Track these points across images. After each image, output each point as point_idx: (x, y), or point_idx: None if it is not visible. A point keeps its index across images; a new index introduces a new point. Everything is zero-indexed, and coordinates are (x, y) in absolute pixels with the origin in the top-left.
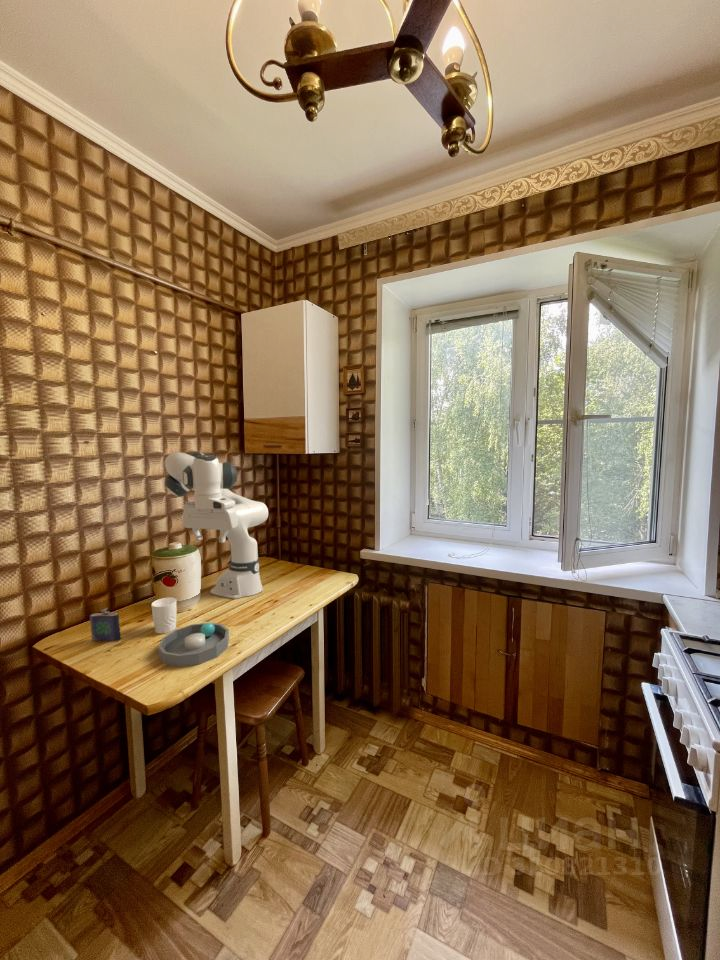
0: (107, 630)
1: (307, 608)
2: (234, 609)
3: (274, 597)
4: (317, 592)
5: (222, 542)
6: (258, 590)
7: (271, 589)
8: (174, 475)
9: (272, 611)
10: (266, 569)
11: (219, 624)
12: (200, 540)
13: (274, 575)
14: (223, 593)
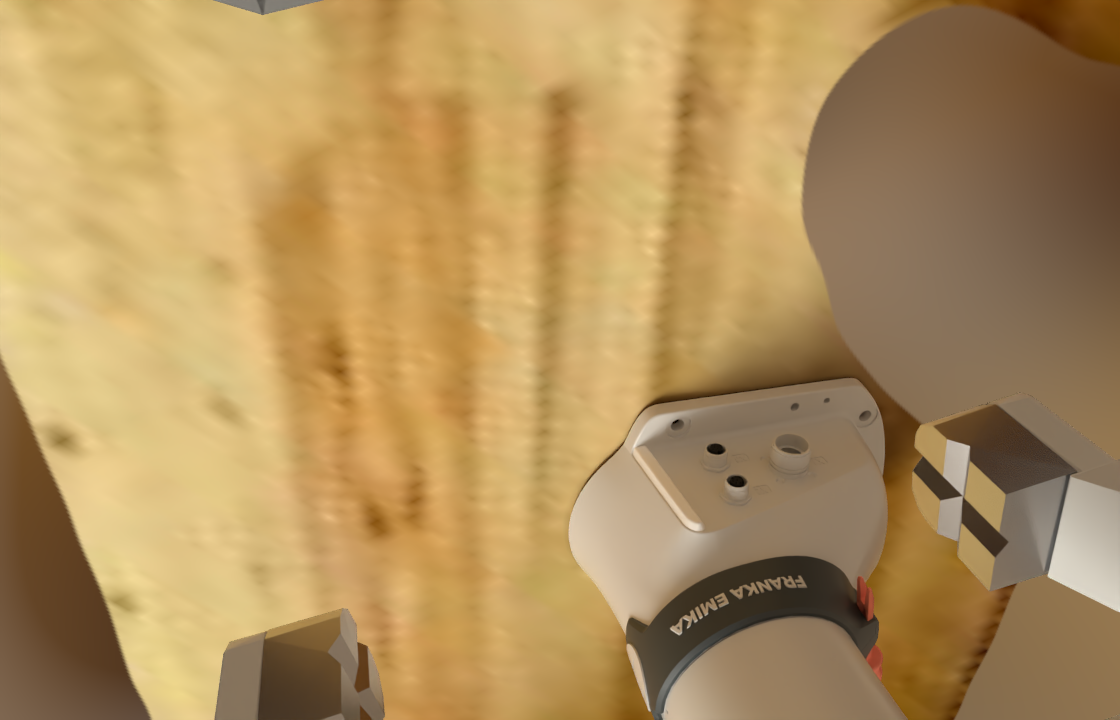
0: None
1: (96, 565)
2: (528, 315)
3: (430, 547)
4: None
5: (252, 637)
6: (576, 543)
7: (539, 597)
8: None
9: (265, 426)
10: None
11: (278, 3)
12: (921, 448)
13: None
14: (757, 408)
